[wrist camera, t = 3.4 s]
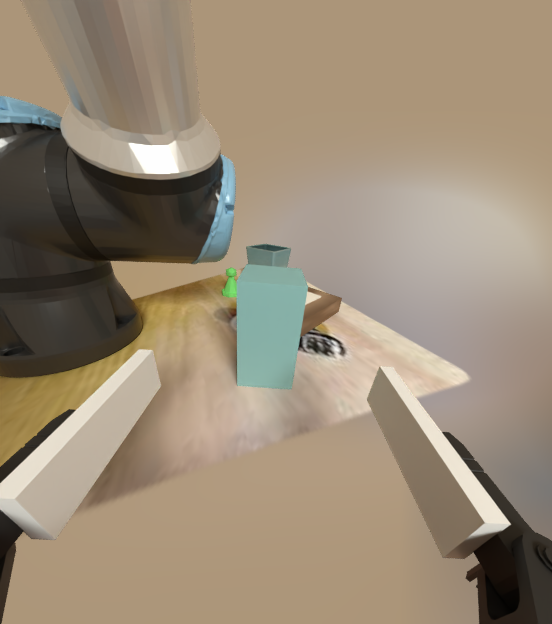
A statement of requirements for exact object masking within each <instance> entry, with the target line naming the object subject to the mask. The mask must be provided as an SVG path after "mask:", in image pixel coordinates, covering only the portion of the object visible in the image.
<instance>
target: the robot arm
mask: <svg viewBox="0 0 552 624" xmlns="http://www.w3.org/2000/svg"><path fill="white" fill-rule="evenodd" d="M21 2H22V4H23V6H24V8H25V10H26V12H27V14H28V16H29V18H30V20H31V22H32V24H33V26H34V28H35V30H36V32H37V34H38V36H39V38H40V40H41V42H42V44H43V46H44V48H45V50H46V52H47V54H48V56H49V58H50V60H51V62H52V64H53V66H54V68H55V70H56V72H57V74H58V76H59V78H60V80H61V82H62V84H63V86H64V88H65V90H66V92H67V94H68V96H69V101H70V102H69V104H68V106H67V108H66V110H65V112H64V115H63V117H60V116H59V115H57V114H55V113H54V112H51V111H49V110H47V109H45V108H42V107H39V106H37V105H34V104H31V103H28V102H25V101H22V100H18V99H15V98H11V97H5V96H0V376H4V377H33V376H41V375H47V374H53V373H58V372H62V371H66V370H70V369H74V368H77V367H80V366H83V365H86V364H89V363H92V362H95V361H97V360H100V359H102V358H104V357H106V356H109V355H111V354H113V353H114V352H116V351H118V350H120V349H122V348H123V347H125V346H126V345H128V344H129V343H130V342H132V341H133V340H134V339H135V338H136V337H137V336H138V335H139V333H140V332H141V330H142V326H143V324H142V320H141V316H140V312H139V310H138V308H137V306H136V305H135V304H134V302H133V301H132V300H131V298H130V297H129V296H128V294H127V293H126V291H125V290H124V289H123V287H122V286H121V284H120V283H119V282H118V280H117V279H116V277H115V275H114V272H113V269H112V266H111V263H110V261H133V262H134V261H135V262H162V263H190V264H197V263H202V262H217V261H220V260H221V259H223V258H224V257H225V255H226V254H227V251H228V249H229V245H230V241H231V235H232V227H233V219H234V214H233V210H234V203H235V192H236V191H235V190H236V186H235V185H236V181H235V180H236V179H235V169H234V165H233V163H232V161H231V160H230V159H228V158H226V157H225V156H223V155H220V140H219V137H218V135H217V133H216V131H215V130H214V129H213V127H212V126H211V125H210V123H209V122H208V121H207V120H206V118H205V117H204V116H203V115H202V113H201V112H200V103H199V91H198V80H197V70H196V69H197V68H196V57H195V46H194V35H193V22H192V11H191V0H21ZM160 387H161V383H160V379H159V375H158V370H157V366H156V362H155V358H154V353H153V350H141V349H139V350H138V351H137V352H136V353H135V354H134V355H133V356H132V357H131V358H130V359H129V360H128V361H127V362H126V363H125V364H123V365H122V366H121V367H120V368H119V369H118V370H117V371H116V372H115V373H114V374H113V375H112V376H111V377H110V378H109V379H108V380H107V381H106V382H105V383H104V384H103V385H102V386H101V387H100V388H99V389H98V390H97V391H96V392H94V393H93V394H92V395H91V396H90V397H89V398H88V399H87V400H86V401H85V402H84V403H83V404H82V405H81V406H80V407H79V408H78V409H77V410H70V409H69V410H67V411H66V412H64V413H63V414H61V415H59V416H58V417H56V418H55V419H53V420H52V421H51V422H49V423H48V424H47V425H46V426H45V427H44V428H43V429H42V430H41V431H40V432H38V433H37V436H34V437H33V438H32V439H31V440H30V441H28V442H27V443H26V444H25V446H24V447H23V448H21V449H20V450H19V451H17V452H16V453H15V454H14V455H13V456H12V457H11V458H10V459H9V460H8V461H6V462H5V463H4V464H3V465H2V466H1V467H0V624H1V623H2V618H3V612H4V607H5V602H6V597H7V592H8V587H9V582H10V577H11V572H12V567H13V562H14V557H15V552H16V546H15V541H16V540H17V539H18V537H19V536H20V535H21V534H22V532H24V533H26V534H27V535H28V536H29V537H30V538H31V539H46V540H56V538H57V537H58V536H59V534H60V533H61V531H62V530H63V528H64V527H65V525H66V524H67V522H68V521H69V520H70V518H71V517H72V515H73V514H74V512H75V511H76V509H77V508H78V506H79V505H80V503H81V502H82V501H83V499H84V498H85V496H86V495H87V493H88V492H89V490H90V489H91V487H92V486H93V485H94V483H95V482H96V480H97V479H98V477H99V476H100V474H101V473H102V471H103V470H104V468H105V467H106V466H107V464H108V463H109V461H110V460H111V458H112V457H113V455H114V454H115V452H116V451H117V450H118V448H119V447H120V445H121V444H122V442H123V441H124V439H125V438H126V436H127V435H128V434H129V432H130V431H131V429H132V428H133V426H134V425H135V423H136V422H137V420H138V419H139V417H140V416H141V415H142V413H143V412H144V410H145V409H146V407H147V406H148V404H149V403H150V401H151V400H152V399H153V397H154V396H155V394H156V393H157V391H158V390H159V388H160ZM367 401H368V403H369V405H370V407H371V409H372V411H373V413H374V415H375V417H376V420H377V422H378V424H379V426H380V428H381V430H382V432H383V434H384V436H385V438H386V440H387V443H388V445H389V447H390V449H391V451H392V453H393V455H394V457H395V459H396V461H397V463H398V465H399V468H400V470H401V472H402V474H403V476H404V478H405V480H406V482H407V484H408V486H409V488H410V490H411V493H412V495H413V497H414V499H415V501H416V503H417V505H418V507H419V509H420V511H421V513H422V515H423V518H424V520H425V522H426V524H427V526H428V528H429V530H430V532H431V534H432V536H433V538H434V541H435V543H436V545H437V547H438V549H439V551H440V553H441V555H442V557H443V558H455V559H465V558H466V557H468V556H469V555H470V554H472V553H473V552H474V554H475V555H476V557H477V559H478V561H479V562H480V564H478V565H477V566H475V567H474V568H472V569H471V570H469V571H468V572H467V576H466V579H467V580H468V581H469V582H471V581H472V580H474V579H475V578H477V580H478V584H477V586H476V587H477V588H478V604H479V624H552V541H551V540H549V539H548V538H546V537H544V536H542V535H540V534H538V533H535V532H534V531H533V530H532V529H531V528H530V527H529V525H528V524H527V523H526V522H525V521H524V520H523V518H521V516H520V515H519V514H518V512H517V511H516V510H515V509H514V507H513V506H512V505H511V504H510V502H509V501H508V500H507V499H506V497H505V496H504V495H503V494H502V493H501V491H500V490H499V489H498V487H497V486H496V485H495V484H494V482H493V481H492V480H491V479H490V478H489V476H488V475H487V474H486V473H484V470H483V469H482V468H481V466H480V465H479V464H478V463H477V461H475V460H474V458H473V456H472V455H471V454H470V453H469V451H468V450H467V449H466V448H465V446H464V445H463V444H462V443H461V442H459V441H458V440H457V439H456V438H455V437H454V436H453V435H451V434H450V433H449V432H441V431H440V430H439V428H438V427H437V425H436V424H435V423H434V421H433V420H432V419H431V417H430V416H429V415H428V413H427V412H426V411H425V409H424V408H423V407H422V405H421V404H420V403H419V401H418V400H417V399H416V397H415V396H414V395H413V393H412V392H411V391H410V389H409V388H408V387H407V385H406V384H405V383H404V381H403V380H402V379H401V377H400V376H399V375H398V373H397V372H396V371H395V369H394V368H393V367H385V366H380V367H379V370H378V372H377V375H376V377H375V380H374V382H373V385H372V388H371V390H370V393H369V395H368V398H367Z"/></svg>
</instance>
